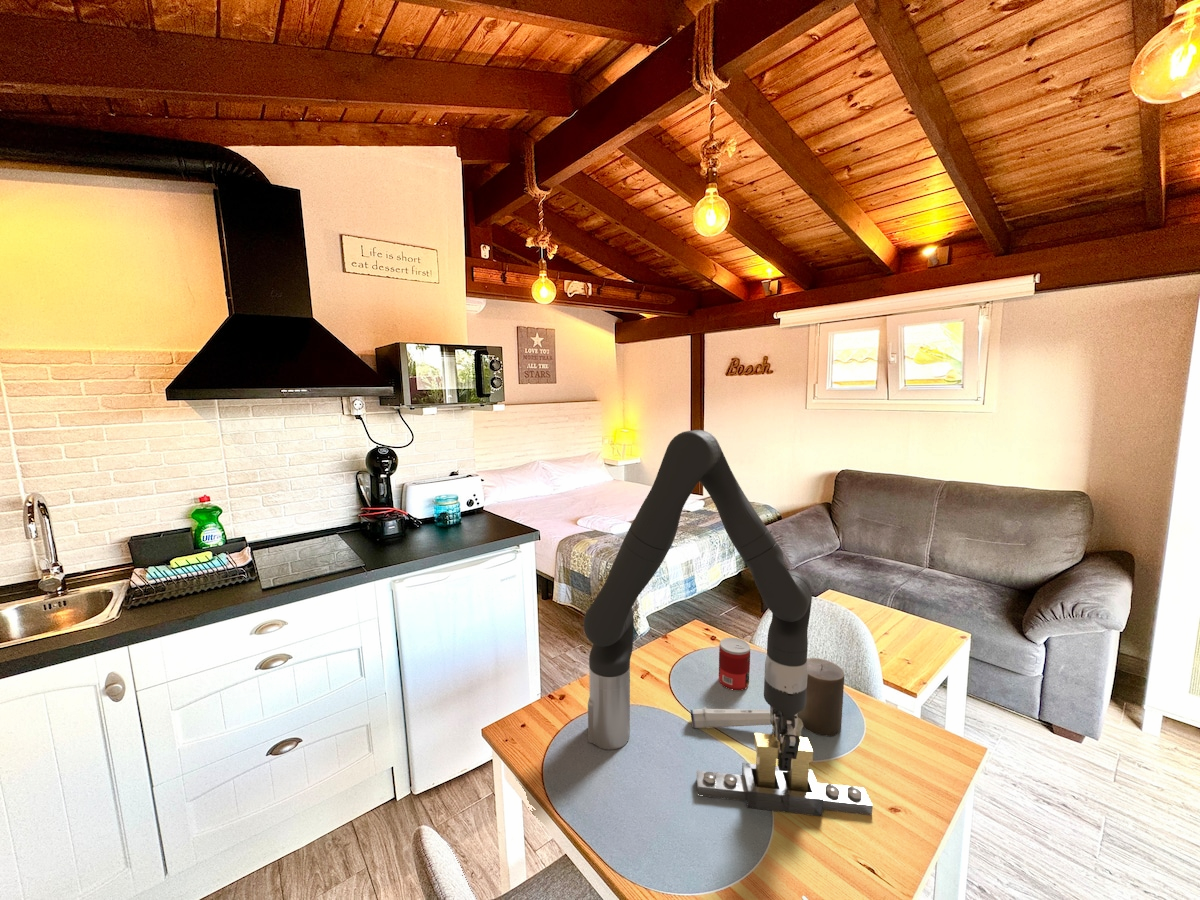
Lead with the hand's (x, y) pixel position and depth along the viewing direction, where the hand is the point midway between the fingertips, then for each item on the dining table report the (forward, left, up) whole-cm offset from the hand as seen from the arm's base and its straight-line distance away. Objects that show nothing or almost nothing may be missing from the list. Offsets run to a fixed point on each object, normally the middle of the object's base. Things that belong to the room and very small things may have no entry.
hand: (781, 760), depth 91 cm
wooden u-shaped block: (0, 0, -6) cm, 6 cm away
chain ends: (0, 0, -8) cm, 8 cm away
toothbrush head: (-4, +18, -8) cm, 20 cm away
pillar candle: (+14, +23, -8) cm, 28 cm away
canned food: (-4, +36, -8) cm, 37 cm away
